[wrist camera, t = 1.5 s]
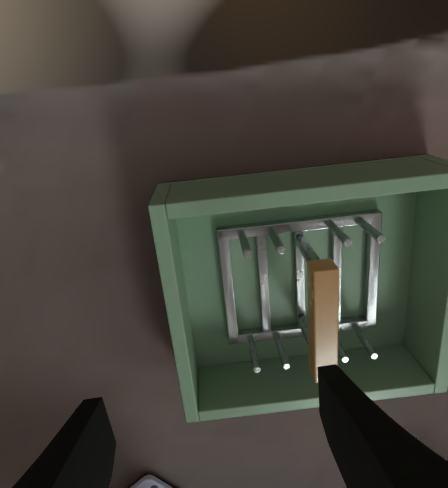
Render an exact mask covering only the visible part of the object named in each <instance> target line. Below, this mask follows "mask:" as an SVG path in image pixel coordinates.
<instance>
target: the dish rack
mask: <svg viewBox="0 0 448 488" xmlns="http://www.w3.org/2000/svg"><path fill="white" fill-rule="evenodd" d="M356 225H359V226H360V227H361V228H362V229H363V230H364V231H365V232H366V253H365V276H364V299H363V315H359V316H351V317H342V318H341V286H342V244H343V245H344V246H346V247H349V246H351V245H352V240H351V239H350V238H349V237H348V236H347V235H346V234H345V233H344V232H343V227H347V226H356ZM320 229H330V231H331V258H329V259H320V258H319V256H318V255H317V254H316V252H315V251H314V249H313V248H312V246H311V245H310V244H309V242H308V241H307V239H306V238H305V237H304V231H311V230H320ZM381 230H382V212H381V211H380V210H379V209H373V210H364V211H355V212H346V213H337V214H328V215H319V216H310V217H301V218H292V219H283V220H274V221H265V222H256V223H247V224H238V225H229V226H220V227H216V232H217V241H218V250H219V259H220V268H221V277H222V286H223V295H224V304H225V313H226V322H227V331H228V340H229V345H233V344H241V343H248V347H249V352H250V357H251V362H252V368H253V371H254V372H255V373H259V372H260V371H261V368H260V363H259V358H258V354H257V349H256V345H255V342H258V341H267V340H275V344H276V347H277V350H278V354H279V357H280V360H281V364H282V367H283V369H285V370H287V369H289V368H290V363H289V360H288V357H287V354H286V351H285V348H284V345H283V342H282V339H284V338H293V337H301V336H303V337H304V339H305V341H306V344H307V346H308V350H309V370H310V372H311V375H312V377H313V380H314V382H315V383H318V367H320V366H327V365H334V364H336V365H338V355H339V357H340V359H341V361H342V362H344V363H346V362H348V360H349V357H348V356H347V354H346V352H345V350H344V348H343V346H342V345H341V343H340V341H339V339H338V332H344V331H354V332H355V334H356V335H357V337H358V338H359V340H360V342H361V343H362V345H363V346H364V348H365V350H366V351H367V353H368V354H369V356H370V357H371V358H372V359H376V358H377V357H378V354H377V352H376V351H375V349H374V348H373V346H372V345H371V343H370V342H369V340H368V339H367V337H366V336H365V334H364V333H363V331H362V330H361V329H370V328H376V315H377V298H378V281H379V264H380V247H381V243H383V242H384V241H385V236H384V235H383V234H382V233H381ZM284 233H293V234H294V266H295V297H296V323H290V324H282V325H273V326H271V313H270V296H269V280H268V263H267V247H266V235H269V236H270V238H271V240H272V243H273V245H274V247H275V249H276V251H277V253H278V254H283V253H285V250H286V249H285V247H284V245H283V243H282V241H281V239H280V238H279V236H278V234H284ZM248 237H256V250H257V264H258V278H259V292H260V306H261V320H262V327H256V328H247V329H239V330H238V323H237V313H236V303H235V293H234V283H233V273H232V263H231V252H230V242H229V240H230V239H239V241H240V245H241V249H242V252H243V256H244V257H245V258H250V257H251V256H252V251H251V248H250V245H249V242H248V239H247V238H248ZM305 260H306V262H307V296H308V318H307V317H306V290H305Z"/></svg>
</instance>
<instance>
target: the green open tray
mask: <svg viewBox="0 0 448 488" xmlns="http://www.w3.org/2000/svg"><path fill="white" fill-rule="evenodd" d="M373 209H379V210H380V211H381V212H382V230H381V233H382V234H383V235H384V236H385V241H384V242H383V243H381V247H380V264H379V281H378V298H377V315H376V328H370V329H361V330H362V331H363V333H364V334H365V336H366V337H367V339H368V340H369V342H370V343H371V345H372V346H373V348H374V349H375V351H376V352H377V354H378V357H377V358H376V359H372V358H371V357H370V356H369V354H368V353H367V351H366V350H365V348H364V346H363V345H362V343H361V342H360V340H359V338H358V337H357V335H356V334H355V332H354V331H344V332H338V339H339V341H340V343H341V345H342V346H343V348H344V350H345V352H346V354H347V356H348V357H349V360H348V362H346V363H344V362H342V361H341V359H340V357H339V355H338V366H339V367H340V368H341V369H342V370H343V371H344V373H345V374H346V375H347V376H348V377H349V378H350V379H351V380H352V381H353V382H354V383H355V384H356V385H357V386H358V387H359V388H360V389H361V390H362V391H363V392H364V393H365V394H366V395H367V396H368V397H369V398H370V399H371V400H372V401H374V400H382V399H390V398H399V397H407V396H415V395H424V394H432V393H442V392H447V387H448V160H446V159H442V158H439V157H435V156H432V155H429V154H427V155H417V156H408V157H399V158H390V159H381V160H371V161H362V162H353V163H344V164H335V165H325V166H316V167H307V168H298V169H289V170H279V171H270V172H261V173H252V174H243V175H233V176H224V177H215V178H206V179H197V180H187V181H178V182H169V183H160V184H157V187H156V189H155V191H154V194H153V196H152V198H151V201H150V203H149V205H148V210H149V215H150V221H151V227H152V232H153V238H154V244H155V249H156V255H157V261H158V266H159V272H160V278H161V283H162V289H163V295H164V300H165V306H166V312H167V317H168V323H169V329H170V334H171V340H172V346H173V351H174V357H175V363H176V368H177V374H178V380H179V385H180V391H181V397H182V402H183V408H184V414H185V419H186V423H191V422H198V421H199V420H200V421H207V420H216V419H224V418H232V417H241V416H249V415H257V414H266V413H274V412H282V411H291V410H299V409H307V408H316V407H319V387H318V383H315V382H314V380H313V377H312V375H311V372H310V370H309V350H308V346H307V344H306V341H305V339H304V337H303V336H301V337H293V338H284V339H282V342H283V345H284V348H285V351H286V354H287V357H288V360H289V363H290V368H289V369H287V370H285V369H283V367H282V364H281V360H280V357H279V354H278V350H277V347H276V344H275V340H267V341H258V342H255V345H256V349H257V354H258V358H259V363H260V368H261V371H260V372H259V373H255V372H254V371H253V368H252V362H251V357H250V352H249V347H248V343H241V344H233V345H229V340H228V331H227V322H226V313H225V304H224V295H223V286H222V277H221V268H220V259H219V250H218V241H217V232H216V227H220V226H229V225H238V224H247V223H256V222H265V221H274V220H283V219H292V218H301V217H310V216H319V215H328V214H337V213H346V212H355V211H364V210H373ZM343 232H344V233H345V234H346V235H347V236H348V237H349V238H350V239H351V240H352V245H351V246H349V247H346V246H344V245H343V244H342V286H341V318H342V317H351V316H359V315H363V299H364V276H365V253H366V232H365V231H364V230H363V229H362V228H361V227H360V226H359V225H356V226H347V227H343ZM278 236H279V238H280V239H281V241H282V243H283V245H284V247H285V249H286V250H285V253H283V254H278V253H277V251H276V249H275V247H274V245H273V243H272V240H271V238H270V236H269V235H266V247H267V263H268V280H269V296H270V313H271V326H273V325H282V324H290V323H296V297H295V266H294V234H293V233H284V234H278ZM304 237H305V238H306V239H307V241H308V242H309V244H310V245H311V246H312V248H313V249H314V251H315V252H316V254H317V255H318V256H319V258H320V259H329V258H331V231H330V229H320V230H311V231H304ZM247 239H248V242H249V245H250V248H251V251H252V256H251V257H250V258H245V257H244V256H243V252H242V249H241V245H240V241H239V239H230V240H229V242H230V252H231V263H232V273H233V283H234V293H235V303H236V313H237V323H238V330H239V329H247V328H256V327H262V320H261V306H260V292H259V278H258V264H257V250H256V237H248V238H247ZM305 290H306V317H307V318H308V296H307V262H306V260H305Z"/></svg>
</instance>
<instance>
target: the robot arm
mask: <svg viewBox="0 0 448 488" xmlns="http://www.w3.org/2000/svg"><path fill="white" fill-rule="evenodd" d="M318 387H319V411H320V417H321V420H322V423H323V427H324V430H325V434H326V437H327V440H328V443H329V446H330V448H331V451H332V453H333V456H334V458H335V460H336V463H337V465H338V468H339V470H340V472H341V475H342V477H343V479H344V482H345V484H346V487H347V488H448V461H446V460H445V459H443V458H442V457H441V456H439V455H438V454H436V453H435V452H433V451H432V450H431V449H429V448H428V447H427V446H425V445H424V444H423V443H421V442H420V441H419V440H417V439H416V438H415V437H413V436H412V435H411V434H410V433H408V432H407V431H406V430H405V429H404V428H402V427H401V426H400V425H399V424H398V423H396V422H395V421H394V420H393V419H392V418H391V417H389V416H388V415H387V414H386V413H385V412H384V411H383V410H382V409H381V408H380V407H379V406H377V405H376V404H375V403H374V402H373V401H372V400H371V399H370V398H369V397H368V396H367V395H366V394H365V393H364V392H363V391H362V390H361V389H360V388H359V387H358V386H357V385H356V384H355V383H354V382H353V381H352V380H351V379H350V378H349V377H348V376H347V375H346V374H345V373H344V371H343V370H342V369H341V368H340V367H339V366H338V365H336V364H334V365H327V366H320V367H318ZM115 448H116V440H115V437H114V434H113V431H112V428H111V424H110V421H109V418H108V415H107V412H106V408H105V405H104V402H103V399H102V397H99V398H92V399H85V400H83V401H82V403H81V404H80V405H79V406H78V408H77V409H76V410H75V411H74V413H73V414H72V415H71V417H70V418H69V419H68V420H67V422H66V423H65V424H64V426H63V427H62V428H61V430H60V431H59V432H58V433H57V435H56V436H55V437H54V439H53V440H52V441H51V442H50V444H49V445H48V446H47V447H46V448H45V450H44V451H43V452H42V453H41V455H40V456H39V457H38V458H37V460H36V461H35V462H34V463H33V464H32V465H31V467H30V468H29V469H28V470H27V471H26V472H25V474H24V475H23V476H22V477H21V478H20V479H19V480H18V482H17V483H16V484H15V485H14V486H13V487H12V488H109V485H110V481H111V477H112V471H113V464H114V456H115ZM130 488H173V487H171V486H169V485H168V484H166V483H164V482H163V481H161V480H160V479H158V478H156V477H155V476H153V475H146V476H144V477H143V478H141V479H140V480H139V481H138V482H136V483H135V484H134V485H133V486H131V487H130Z"/></svg>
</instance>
